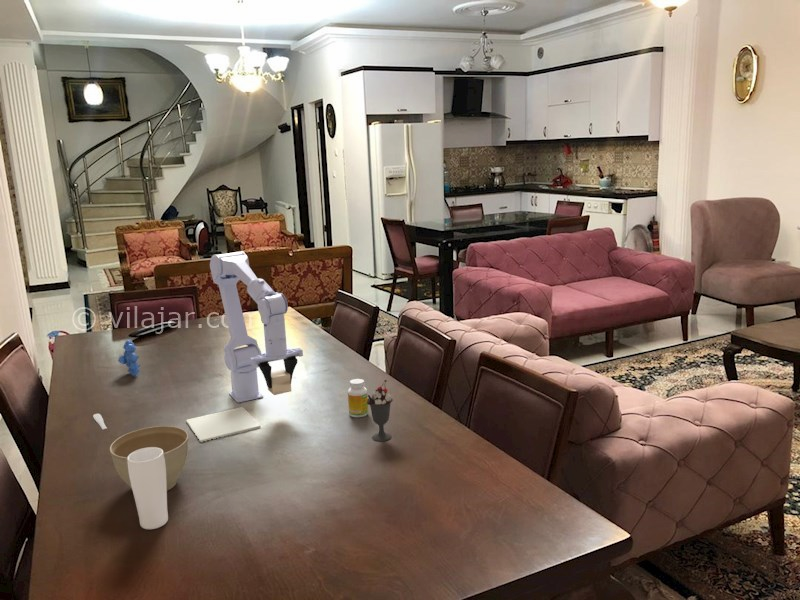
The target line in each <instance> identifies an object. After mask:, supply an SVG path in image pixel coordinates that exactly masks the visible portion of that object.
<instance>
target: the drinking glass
mask: <svg viewBox="0 0 800 600" xmlns="http://www.w3.org/2000/svg"><path fill="white" fill-rule="evenodd" d="M127 461H128V471H129V478H130V482H131V486H132V488H131V491H132V490H133V491H132V493H133V497H134V501H135V506H136V510H137V515H138V519H139V520H138V521H139V525H140V527H141V528H142V529H144V530H155V529H159V528H161V527H163V526H165V525H166V524H167V522H169V521H168V520H169V513H168V491H167V484H166V465H165V458H164V453H163V450H162V449H160V448H157V447H148V448H142V449H139V450H136V451H134V452H132V453H131V454H130V455H129V456H128V457H127Z"/></svg>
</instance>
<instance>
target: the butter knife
mask: <svg viewBox="0 0 800 600" xmlns="http://www.w3.org/2000/svg"><path fill="white" fill-rule="evenodd" d="M92 417H93V419H94V421H96V423H97V424H98V425H99V426H100V428H101V430H106V429H108V427H107V426H106V424H105V422H104V418H103V416H102V414H100V413H94V414H93V415H92Z"/></svg>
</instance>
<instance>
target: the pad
mask: <svg viewBox="0 0 800 600" xmlns="http://www.w3.org/2000/svg"><path fill="white" fill-rule="evenodd" d="M185 421H186V424H187V425H188V427H189V428H190V429H191V431H192V432H193V433H195V434H194V435H195V437H196V436H197V437H196V438H197V440H198V439H199V440H198V441H199V443H200V442H201V443H204V442H203V441H205V442H208V441H207V440H209V441H212V440H211V439H213V440H216V438H217V439H219V437H221V438H225V437H228V435H229V436H232V435H231V434H233V435H236V433H237V434H240V433H239V432H241V433H245V432H248V430H249V431H252V429H253V430H257V429H261V428H260V427H261V424H260V423H259V422H258V421H257V420H256V418H254V417H253V416H252V414H250V413H249V412H248V411H247V410H246V409H245V408H244V407H243V406H241V407H236V408H233V409H228V410H223V411H218V412H215V413H210V414H205V415H201V416H198V417H192V418H188V419H186V420H185ZM244 431H245V432H244ZM224 436H225V437H224Z"/></svg>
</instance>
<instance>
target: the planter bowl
mask: <svg viewBox="0 0 800 600" xmlns="http://www.w3.org/2000/svg"><path fill="white" fill-rule="evenodd" d="M188 442H189V434H188V432H187V431H186V430H185V429H183V428H180V427H178V426H171V425H170V426H169V425H160V426H149V427H148V426H147V427H144V428H140V429H137V430H134V431H130V432H128V433H125V434H123V435H121V436H120V437H118V438H116V439H115V440H114V441H113V442H112V443H111V445H110V446H109V451H110V455H111V457H112V461H113V465H114V468H115V471H116V472H117V474H118V475H119V477H120V478H121V480H123V482H124V483H125V484H127V486H129V487H130V489H131V491H132V492H133V490H132V486H131V482H130V478H129V471H128V461H127V457H128V456H129V455H130V454H131V453H132V452H134V451H136V450H139V449H142V448H148V447H157V448H160V449H162V450H163V453H164V458H165V465H166V484H167V492H168V491H170V490H171V489H173V488H174V487H175V486H176V485H177V483H178V478H179V476H180V475H181V473H182V471H183V469H184V467H185V465H186V461H187V458H188V451H189V445H188Z"/></svg>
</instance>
